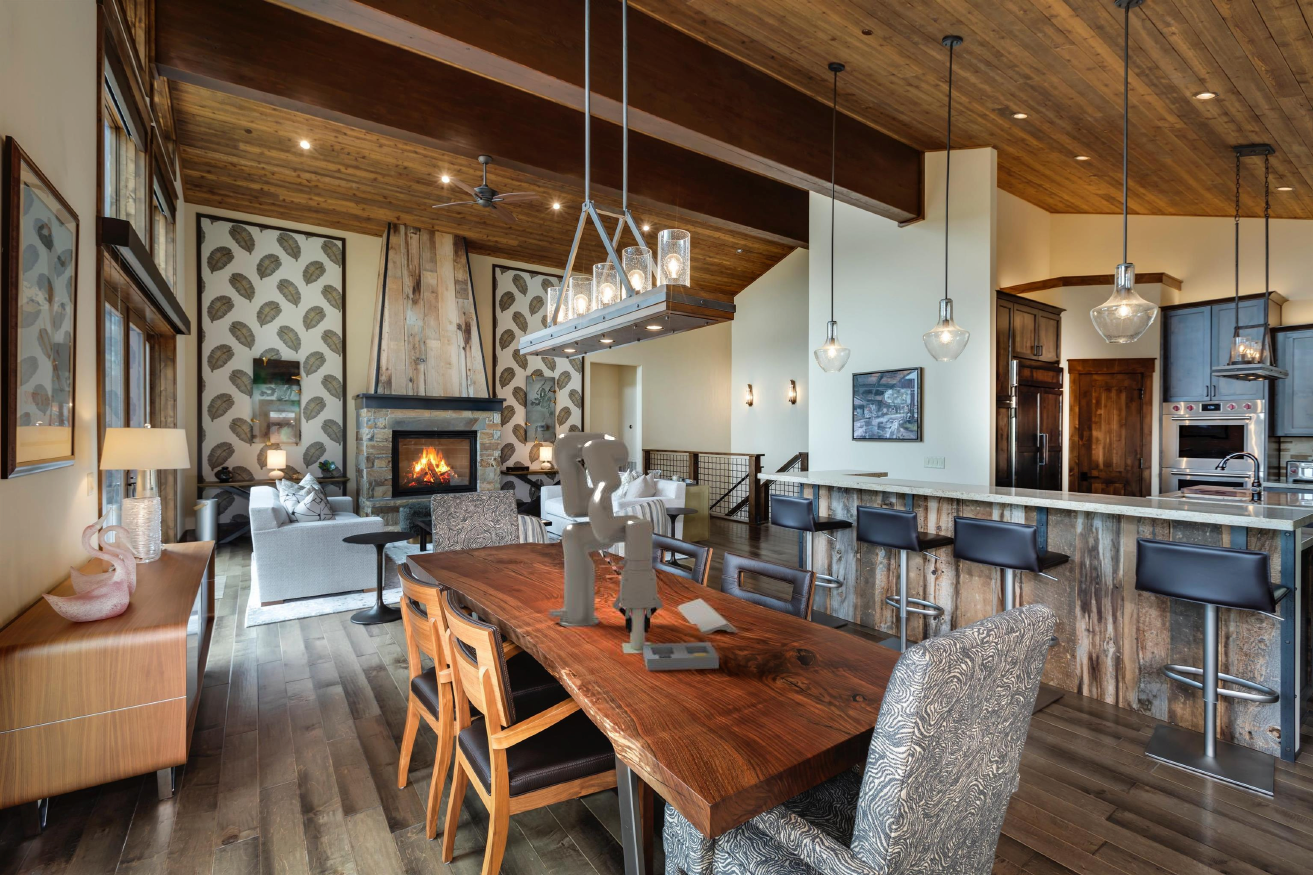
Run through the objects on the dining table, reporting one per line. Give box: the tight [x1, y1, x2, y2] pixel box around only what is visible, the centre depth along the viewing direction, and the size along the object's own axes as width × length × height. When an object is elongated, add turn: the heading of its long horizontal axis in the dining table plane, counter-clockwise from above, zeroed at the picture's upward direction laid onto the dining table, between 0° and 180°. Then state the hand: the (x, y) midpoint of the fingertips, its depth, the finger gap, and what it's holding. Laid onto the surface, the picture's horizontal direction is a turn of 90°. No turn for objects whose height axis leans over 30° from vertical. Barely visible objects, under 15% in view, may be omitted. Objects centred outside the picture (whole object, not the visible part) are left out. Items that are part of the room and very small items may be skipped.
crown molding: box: [677, 598, 739, 635], centre depth 202 cm, size 29×12×4 cm, turn 13°
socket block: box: [642, 641, 720, 671], centre depth 161 cm, size 18×11×4 cm, turn 97°
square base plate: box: [621, 642, 652, 654], centre depth 171 cm, size 8×8×1 cm
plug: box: [629, 608, 646, 650], centre depth 171 cm, size 4×4×13 cm
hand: (637, 630), depth 171 cm, fingers closed on plug, 4 cm apart
